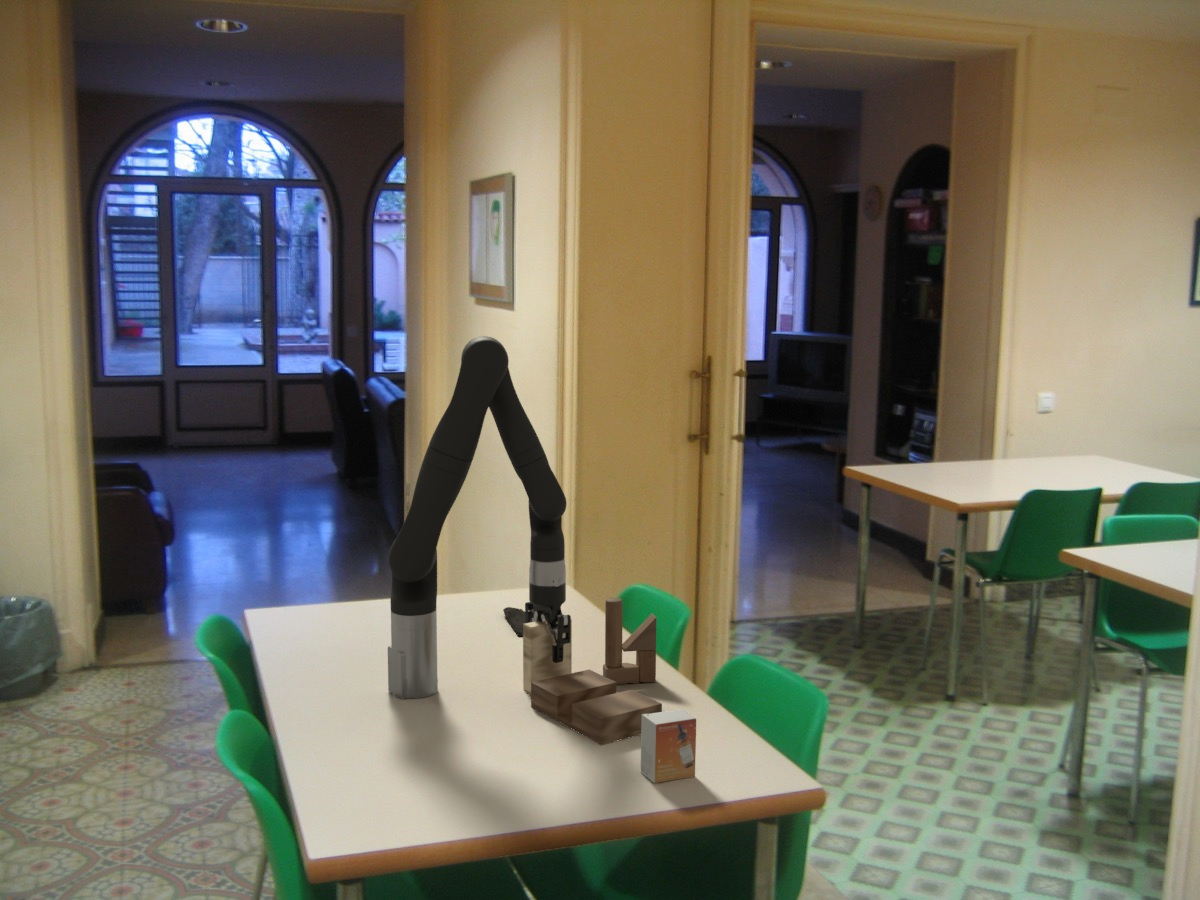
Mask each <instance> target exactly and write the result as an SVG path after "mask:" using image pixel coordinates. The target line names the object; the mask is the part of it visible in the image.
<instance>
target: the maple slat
mask: <svg viewBox="0 0 1200 900" xmlns="http://www.w3.org/2000/svg"><path fill="white" fill-rule="evenodd" d="M572 623H573V622H572V618H571V641H570V643H567V644H564V646H563V661H562V662H559V663H554V662H553V661H552V645H553V643H552V640H551V637H550V636H549V635H548V634H547V630H546V627H545V624H544V623H543V622H541V621H536V622H530V623H525V624H523V637H522V644H523V645H522V656H523V657H522V661H523V663H522V667H523V669H522V671H523V672H522V674H523V676H522V677H523V679H522V684H523V685H522V686H523V687H522V688H523V689H524V690H523V689H522V690H523V691H525V690H526V692H528V693H529V694H531V682H535V681H539V680H544V679H548V678H553V677H557V676H562V675H566V674H571V673H573V672H572V663H573V662H572V658H573V657H572V655H573V654H572V649H573V647H572V644H573V643H572V641H573V640H572V638H573V637H572V635H573V634H572V632H573V631H572V629H573V627H572ZM556 629H558V626H557V627H556ZM556 629H552V630H556ZM563 634H564V637H565V633H563ZM555 636H556V639H557V634H555Z"/></svg>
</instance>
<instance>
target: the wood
mask: <svg viewBox="0 0 1200 900" xmlns="http://www.w3.org/2000/svg"><path fill="white" fill-rule="evenodd" d="M503 614H504V617H505V619H506V621H507V623H508V624H509V625H510V626H511V628H512V630H513V631H514V632H515V634H516V636H517V637H518V638H523V624H525V610H523V609H522V608H517V607H511V606H507V607H505V608H503ZM532 620H533V618H532V619H530V622H532Z"/></svg>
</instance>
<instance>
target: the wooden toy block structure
mask: <svg viewBox="0 0 1200 900" xmlns="http://www.w3.org/2000/svg"><path fill="white" fill-rule="evenodd" d="M623 604H624V603H623V599H622V598H619V597H608V598H606V599H605V609H604V611H605V614H604V615H605V620H604V621H605V622H604V623H605V624H604V626H605V629H604V630H605V631H604V632H605V633H604V635H605V636H604V639H605V640H604V641H605V642H604V643H605V644H604V647H605V649H604V664H603V665H602V676H604V677H606V678H609V679H611V680H613V681H615V682H617V684H618V685H628V684H627V683H633V684H640V683H639V682H653V683H656V680H657V677H656V675H657V618H658V617H656V616H655V614H654V613H650V614H649V616H647V618H646V619H645V620H644V621H643V622H642V623H641V624H640V625H639V626H638V627H637V628H636V629H635V630H634V631H633V633H632V634H630V635H629V637H627V639H625V641H624V642H623V610H624V609H623ZM623 652H624V653H625V652H636V653H635V655H636V656H635V664H634V663H631V662H623Z"/></svg>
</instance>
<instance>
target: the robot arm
mask: <svg viewBox="0 0 1200 900" xmlns="http://www.w3.org/2000/svg"><path fill="white" fill-rule="evenodd" d="M460 358H461V359H460V360H461V361H460V368H459V372H458V376H457V380H456V384H455V387H454V390H453V393H452V397H451V399H450V402H449V404H448V406H447V407H446V410H445V411H444V413H443V415H442V416H441V418H440V420H439V422H438V424H436V428H435V430H434V431H433V434H432V436H431V438H430V441H429V444H428V446H427V449H426V451H425V454H424V457H423V460H422V462H421V464H420V465H421V466H420V469H419V473H418V476H417V479H416V483H415V488H414V491H413V495H412V500H411V503H410V506H409V510H408V513H407V515H406V518H405V520H404V522H403V524H402V525H401V528H400V531H399V532H398V534H397V536H396V538H395V539H394V540H393V542H392V544H391V546H390V548H389V550H388V554H387V555H388V557H387V561H388V566H389V569H390V571H391V592H390V632H391V633H390V634H391V635H390V636H391V638H390V639H391V640H390V641H391V645H388V646H387V681H388V682H387V685H388V688H387V689H388V692H389V693H391V694H393V695H394V694H395V696H396V697H397V696H398V697H397V698H399V699H400V698H401V699H400V700H402V699H403V698H404V699H419V698H420V699H421V698H425V697H429V696H432V695H434V694H436V693H437V692H438V690H439V689H438V682H439V681H438V634H437V633H438V627H437V623H438V622H437V619H438V618H437V616H438V615H437V610H438V609H437V598H438V596H437V595H438V551H437V547H438V543H439V540H440V536H441V533H442V529H443V527H444V524H445V521H446V519H447V516H449V513H450V511H451V509H452V507H453V506H454V504H455V502H456V500H457V498H458V497H459V494H460V492H461V489H462V488H463V485H464V484H465V481H466V479H467V477H468V475H469V470H470V469H471V465H472V462H473V460H474V458H475V454H476V450H477V448H478V445H479V441H480V439H481V433H482V429H483V426H484V422H485V417H486V415H487V412H488V410H490V413H491V415H492V418H493V420H494V422H495V423H494V424H495V425H496V428H497V431H498V434H499V436H500V439H501V441H502V444H503V447H504V449H505V450H504V451H505V452H506V454H507V456H508V459H509V461H510V463H511V466H512V467H513V469H514V472H515V473H516V475H517V477H518V479H520V481H521V483H522V485H523V488H524V490H525V493H526V496H527V498H528V514H529V515H528V516H529V517H528V518H529V525H530V542H529V543H530V544H529V546H530V549H529V550H530V555H529V556H530V558H529V559H530V561H529V568H528V569H529V571H528V573H529V575H528V583H529V584H528V586H529V587H528V588H529V589H528V591H529V592H528V599H529V600H528V601H527V602H525V603H524V611H525V623H530V619H533V620H532V622H536V621H541V622H543V623H544V624H545V627H546V630H547V634H548V635H549V636H550V637H551V640H552V643H553V645H552V661H553V662H554V663H559V662H562V661H563V646H564V644H567V643H570V641H571V619H572V616H571V615H570V614H563V612H562V605H563V604H564V603H565V602H566V601H567V599H566V597H567V595H566V593H567V590H566V589H567V582H566V580H567V577H566V576H567V571H566V561H565V560H566V559H565V557H566V555H565V552H566V551H565V544H566V543H565V536H564V533H563V527H562V517H563V515H564V513H565V511H566V510H567V498H566V495H565V493H564V491H563V489H562V487H561V485H560V483H559V481H558V479H557V478H556V476H555V473H554V472H553V470H552V468H551V466H550V463H549V460H548V456H547V455H546V451H545V450H544V447H543V446H542V443H541V441H540V439H539V437H538V434H537V432H536V430H535V428H534V426H533V424H532V422H531V421H530V418H529V416H528V415H527V413H526V411H525V409H524V407H523V405H522V403H521V400H520V398H519V396H518V394H517V391H516V388H515V386H514V384H513V380H512V375H511V372H510V369H509V356H508V352H507V350H506V348H505V347H504V345H503V344H502V343H501V342H500V341H499V340H498V339H496V338H495V337H492V336H491V337H490V336H488V335H487V336H486V335H480V336H477V337H474V338H472V339H470V340H469V341H468V342H467V343H466V344H465V346H464V348H463V349H462V352H461V357H460ZM557 626H558V629H556V627H557ZM552 629H556V630H552ZM563 633H565V637H564V634H563ZM555 634H557V639H556V636H555Z"/></svg>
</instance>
